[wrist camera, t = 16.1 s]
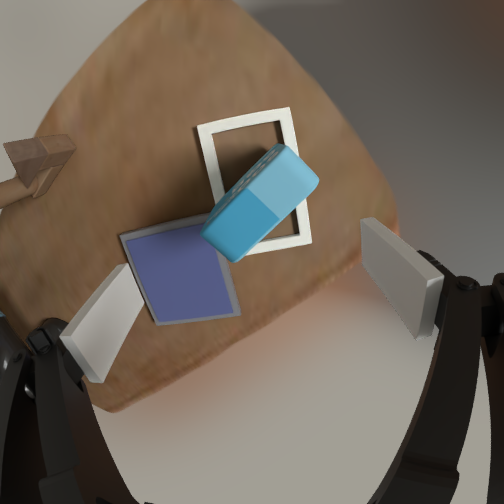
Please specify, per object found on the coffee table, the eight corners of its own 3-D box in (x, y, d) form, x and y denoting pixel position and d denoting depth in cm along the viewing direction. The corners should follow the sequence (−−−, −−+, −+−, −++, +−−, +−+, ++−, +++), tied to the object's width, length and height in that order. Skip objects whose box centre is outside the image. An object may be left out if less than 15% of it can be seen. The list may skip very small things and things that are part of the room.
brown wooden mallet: (77, 148, 33) (-9, 168, 17) (46, 193, 36) (-29, 231, 19) (66, 132, 32) (-20, 146, 15) (36, 179, 35) (-40, 210, 18)
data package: (276, 142, 33) (288, 144, 22) (301, 166, 34) (324, 181, 23) (213, 206, 36) (195, 239, 25) (237, 228, 38) (231, 269, 27)
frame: (229, 255, 40) (229, 258, 39) (198, 126, 33) (196, 125, 32) (310, 241, 39) (311, 243, 38) (288, 107, 32) (289, 107, 31)
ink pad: (158, 321, 45) (156, 327, 44) (122, 232, 39) (118, 236, 37) (241, 311, 44) (240, 316, 43) (214, 211, 37) (213, 214, 36)
